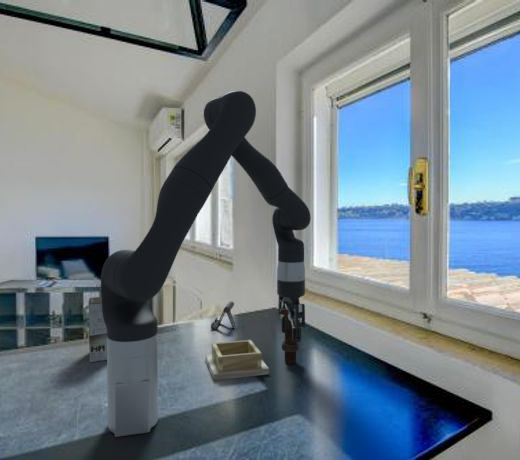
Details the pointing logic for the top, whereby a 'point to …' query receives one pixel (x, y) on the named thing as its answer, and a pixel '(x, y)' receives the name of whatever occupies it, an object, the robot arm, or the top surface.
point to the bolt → (289, 339)
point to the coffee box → (97, 331)
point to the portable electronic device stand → (226, 310)
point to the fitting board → (235, 360)
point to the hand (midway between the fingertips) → (290, 336)
